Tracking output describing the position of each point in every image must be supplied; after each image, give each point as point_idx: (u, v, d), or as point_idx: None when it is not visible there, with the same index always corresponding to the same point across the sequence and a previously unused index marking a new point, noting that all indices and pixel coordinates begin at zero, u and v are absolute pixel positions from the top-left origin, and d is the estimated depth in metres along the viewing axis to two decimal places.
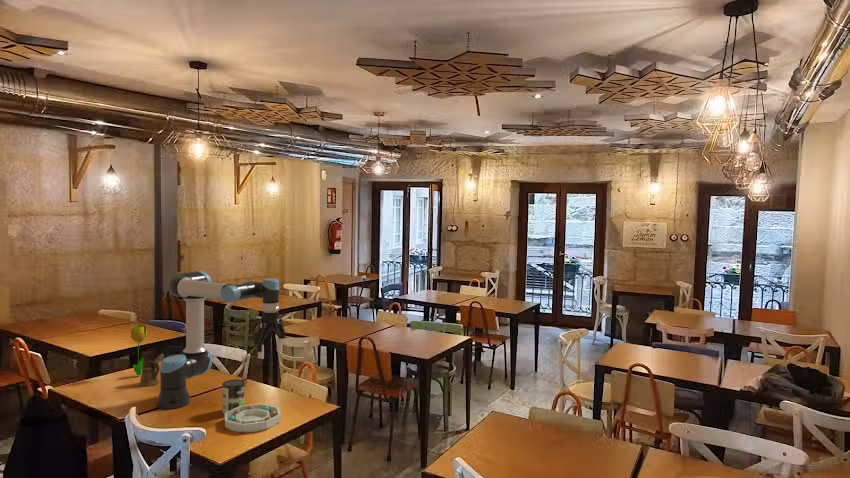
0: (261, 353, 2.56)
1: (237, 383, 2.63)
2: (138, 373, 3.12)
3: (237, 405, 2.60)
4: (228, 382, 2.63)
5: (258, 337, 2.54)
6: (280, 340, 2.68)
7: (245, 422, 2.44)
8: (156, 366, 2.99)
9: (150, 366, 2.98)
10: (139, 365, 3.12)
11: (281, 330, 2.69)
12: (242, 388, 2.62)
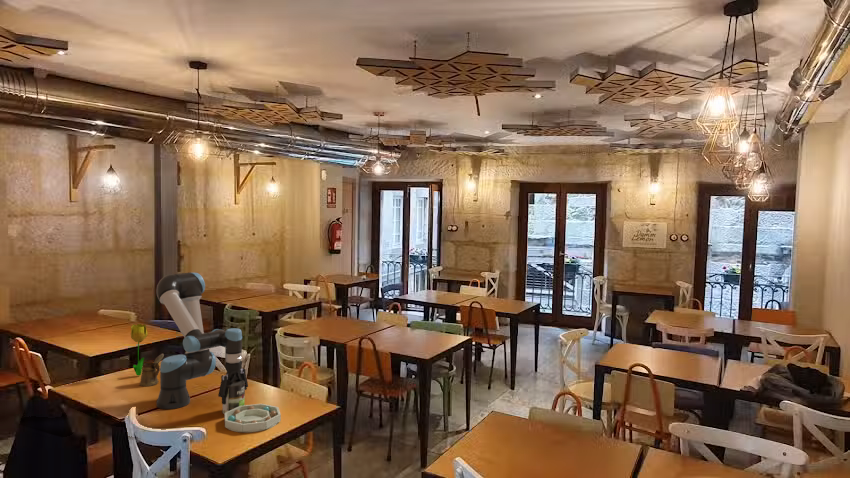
0: (225, 405, 2.58)
1: (237, 383, 2.63)
2: (138, 373, 3.12)
3: (237, 405, 2.60)
4: None
5: (221, 390, 2.56)
6: None
7: (245, 422, 2.44)
8: (156, 366, 2.99)
9: (150, 366, 2.98)
10: (139, 365, 3.12)
11: (244, 380, 2.69)
12: (242, 388, 2.62)
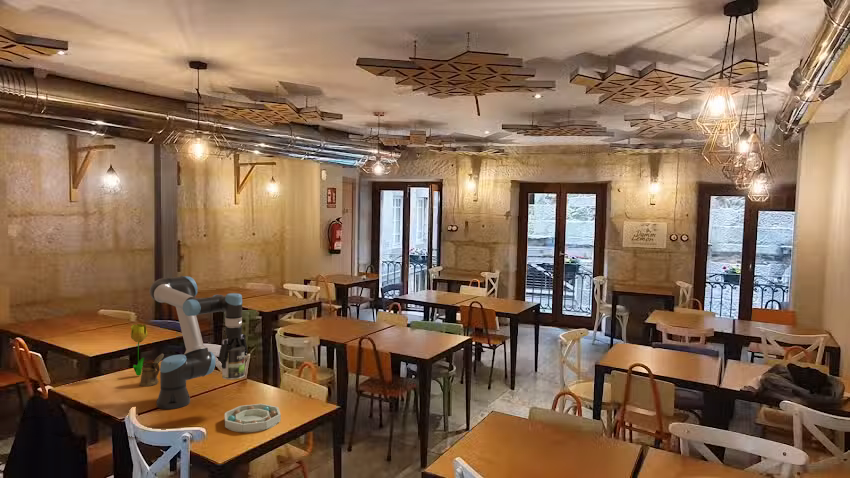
0: (225, 369, 2.57)
1: (237, 348, 2.62)
2: (138, 373, 3.12)
3: (237, 370, 2.59)
4: None
5: (221, 354, 2.55)
6: None
7: (245, 422, 2.44)
8: (156, 366, 2.99)
9: (150, 366, 2.98)
10: (139, 365, 3.12)
11: (244, 346, 2.68)
12: (242, 353, 2.61)
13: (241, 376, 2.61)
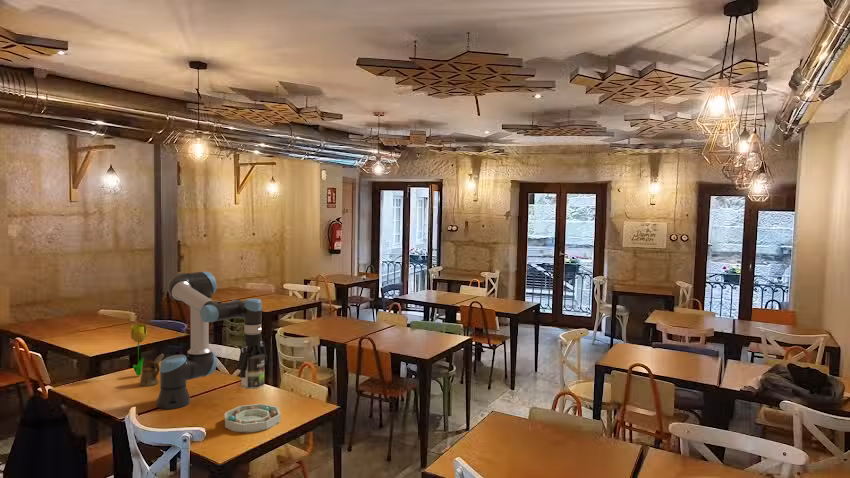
0: (245, 379, 2.45)
1: (257, 356, 2.49)
2: (138, 373, 3.12)
3: (257, 379, 2.47)
4: None
5: (241, 362, 2.43)
6: None
7: (245, 422, 2.44)
8: (156, 366, 2.99)
9: (150, 366, 2.98)
10: (139, 365, 3.12)
11: None
12: (262, 361, 2.49)
13: (261, 385, 2.49)
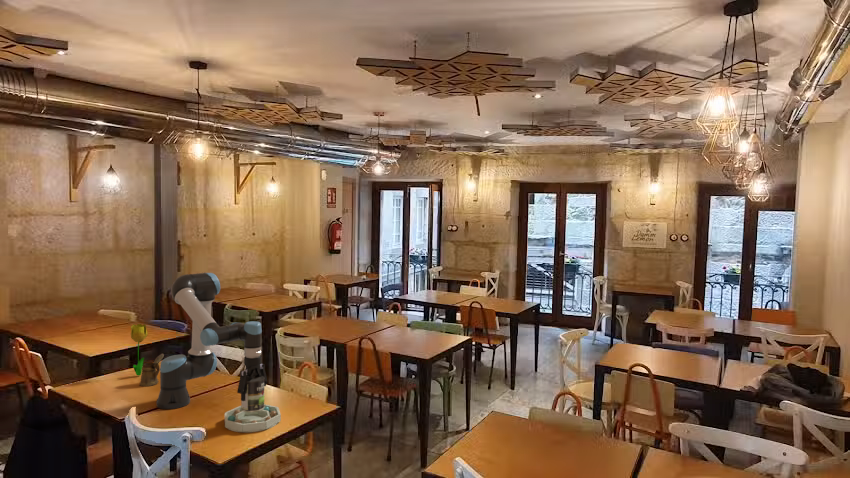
0: (245, 402, 2.46)
1: (257, 379, 2.50)
2: (138, 373, 3.12)
3: (257, 402, 2.47)
4: None
5: (241, 386, 2.43)
6: None
7: (245, 422, 2.44)
8: (156, 366, 2.99)
9: (150, 366, 2.98)
10: (139, 365, 3.12)
11: None
12: (262, 384, 2.49)
13: (261, 408, 2.49)
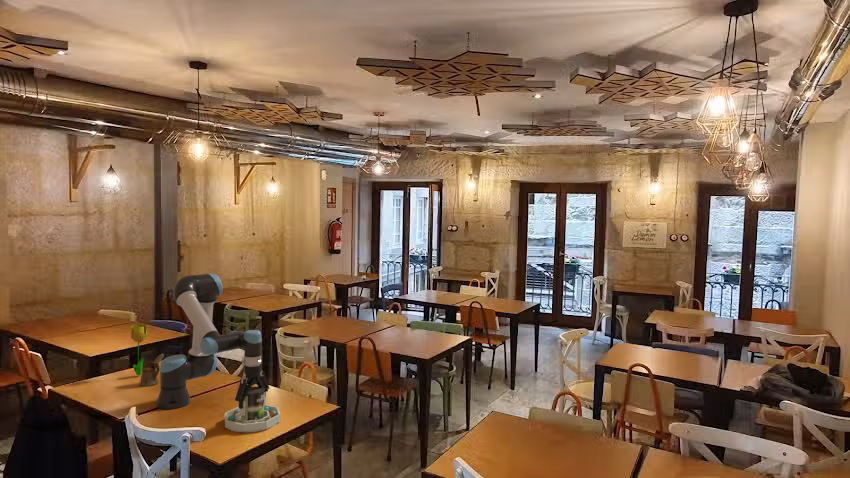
0: (242, 410, 2.45)
1: (256, 390, 2.50)
2: (138, 373, 3.12)
3: (257, 414, 2.48)
4: None
5: (239, 393, 2.43)
6: None
7: (245, 422, 2.44)
8: (156, 366, 2.99)
9: (150, 366, 2.98)
10: (139, 365, 3.12)
11: (264, 383, 2.58)
12: (262, 396, 2.50)
13: None
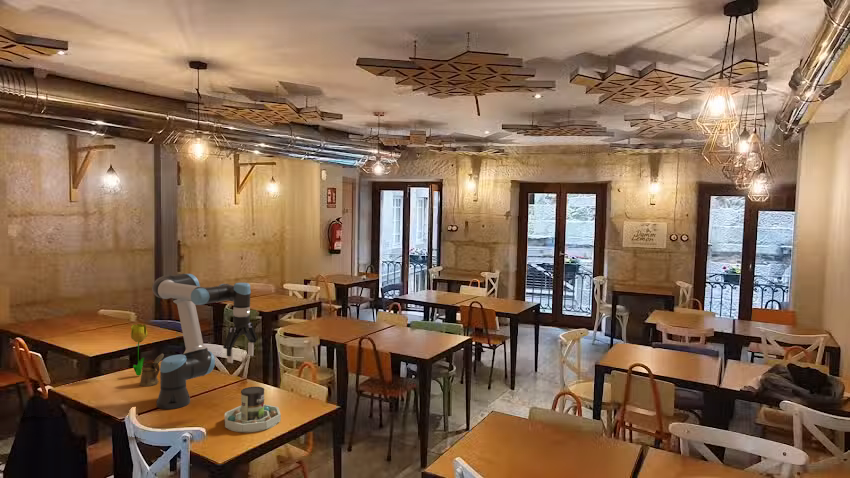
0: (230, 357, 2.56)
1: (256, 390, 2.50)
2: (138, 373, 3.12)
3: (257, 414, 2.48)
4: (246, 390, 2.51)
5: (227, 341, 2.53)
6: (251, 344, 2.68)
7: (245, 422, 2.44)
8: (156, 366, 2.99)
9: (150, 366, 2.98)
10: (139, 365, 3.12)
11: (252, 334, 2.68)
12: (262, 396, 2.50)
13: None
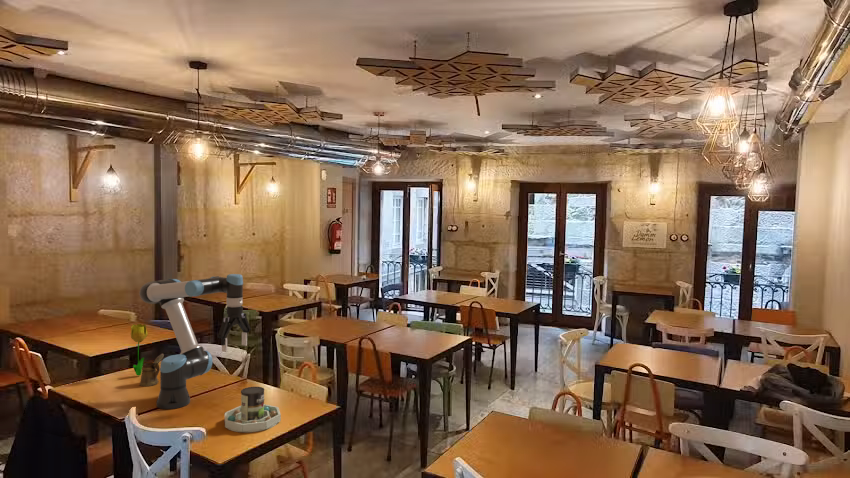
0: (224, 346, 2.63)
1: (256, 390, 2.50)
2: (138, 373, 3.12)
3: (257, 414, 2.48)
4: (246, 390, 2.51)
5: (221, 331, 2.61)
6: (245, 334, 2.75)
7: (245, 422, 2.44)
8: (156, 366, 2.99)
9: (150, 366, 2.98)
10: (139, 365, 3.12)
11: (246, 324, 2.76)
12: (262, 396, 2.50)
13: None
